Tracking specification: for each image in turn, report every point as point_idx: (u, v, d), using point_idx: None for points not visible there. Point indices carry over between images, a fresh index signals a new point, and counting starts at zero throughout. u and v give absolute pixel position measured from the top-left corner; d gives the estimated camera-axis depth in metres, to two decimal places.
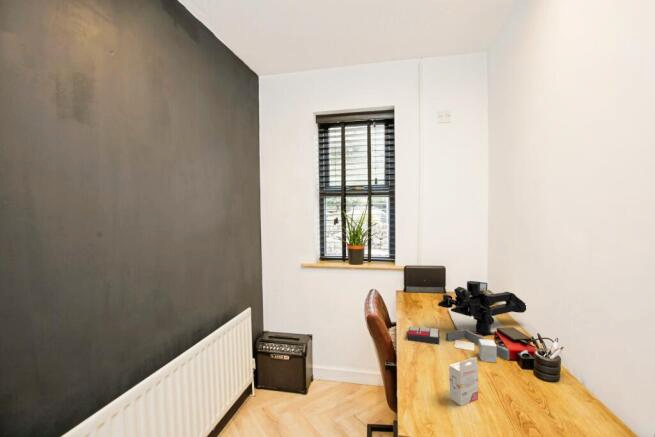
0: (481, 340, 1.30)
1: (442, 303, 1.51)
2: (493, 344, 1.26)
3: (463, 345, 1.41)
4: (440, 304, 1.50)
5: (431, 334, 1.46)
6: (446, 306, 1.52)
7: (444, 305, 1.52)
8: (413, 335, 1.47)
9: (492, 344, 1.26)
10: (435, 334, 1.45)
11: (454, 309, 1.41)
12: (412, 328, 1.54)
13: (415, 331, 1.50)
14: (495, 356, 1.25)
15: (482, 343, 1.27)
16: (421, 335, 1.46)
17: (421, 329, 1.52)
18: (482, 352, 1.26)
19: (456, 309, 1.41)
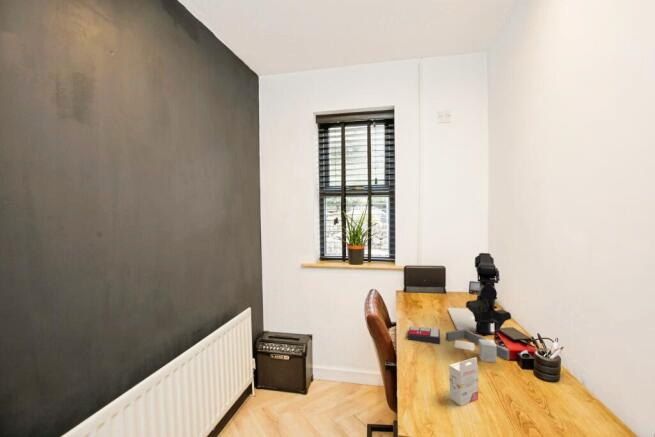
0: (481, 340, 1.30)
1: (478, 319, 1.32)
2: (493, 344, 1.26)
3: (463, 345, 1.41)
4: (478, 322, 1.32)
5: (431, 334, 1.46)
6: (481, 312, 1.33)
7: (480, 315, 1.33)
8: (414, 335, 1.47)
9: (492, 344, 1.26)
10: (435, 334, 1.46)
11: (496, 330, 1.23)
12: (413, 328, 1.54)
13: (416, 331, 1.50)
14: (495, 356, 1.25)
15: (482, 343, 1.27)
16: (421, 335, 1.46)
17: (422, 329, 1.53)
18: (482, 352, 1.26)
19: (497, 328, 1.23)
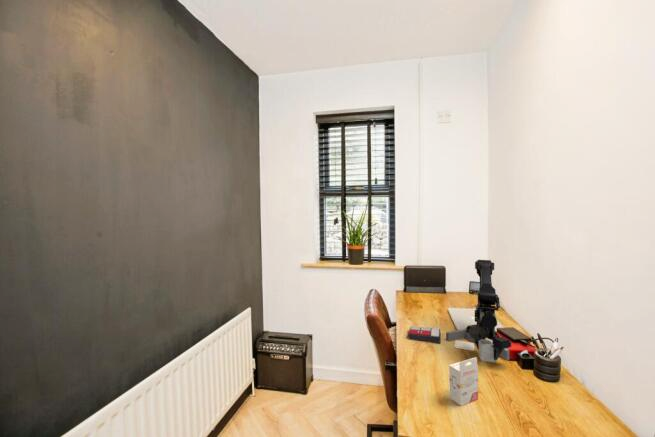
0: (481, 340, 1.30)
1: None
2: None
3: (463, 345, 1.41)
4: None
5: (432, 333, 1.46)
6: None
7: None
8: (415, 334, 1.48)
9: (492, 344, 1.26)
10: (436, 333, 1.46)
11: (496, 357, 1.24)
12: (413, 327, 1.55)
13: (416, 330, 1.51)
14: None
15: (482, 343, 1.27)
16: (422, 334, 1.46)
17: (423, 328, 1.53)
18: (482, 352, 1.26)
19: (497, 355, 1.23)
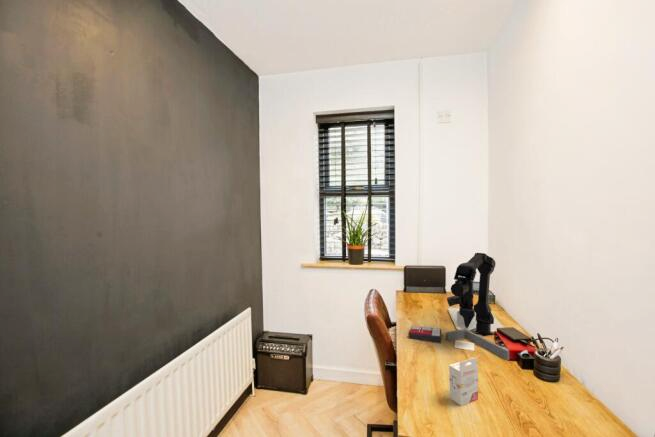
0: None
1: None
2: None
3: (463, 345, 1.41)
4: None
5: (433, 333, 1.47)
6: None
7: None
8: (415, 333, 1.48)
9: None
10: (437, 333, 1.47)
11: (466, 324, 1.35)
12: (414, 327, 1.56)
13: (417, 330, 1.52)
14: None
15: None
16: (423, 334, 1.47)
17: (424, 328, 1.54)
18: (457, 318, 1.40)
19: (466, 323, 1.35)
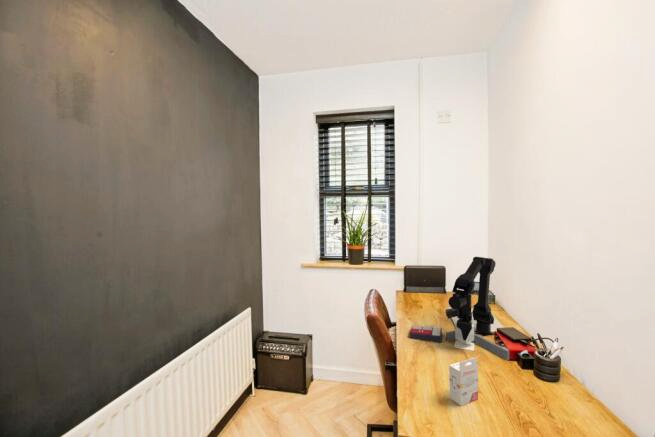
0: None
1: None
2: None
3: (463, 345, 1.41)
4: None
5: (433, 333, 1.47)
6: None
7: None
8: (416, 333, 1.49)
9: None
10: (437, 333, 1.47)
11: (463, 337, 1.36)
12: (415, 327, 1.56)
13: (418, 329, 1.52)
14: None
15: None
16: (423, 333, 1.47)
17: (424, 328, 1.54)
18: (456, 331, 1.41)
19: (464, 335, 1.36)
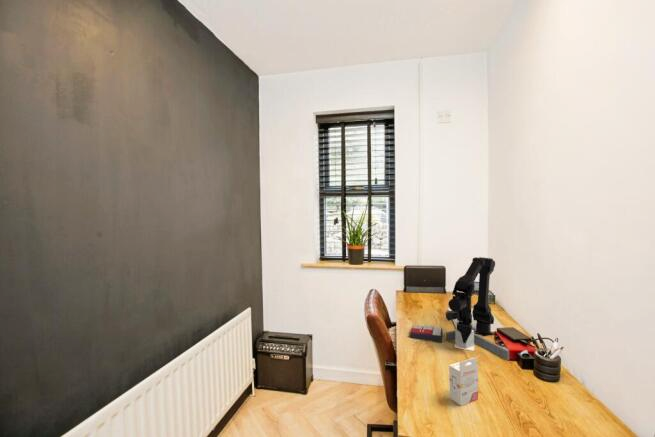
0: None
1: None
2: None
3: None
4: None
5: (434, 332, 1.48)
6: None
7: None
8: (416, 333, 1.49)
9: None
10: (438, 332, 1.47)
11: (463, 340, 1.36)
12: (415, 326, 1.56)
13: (418, 329, 1.52)
14: None
15: None
16: (424, 333, 1.48)
17: (425, 327, 1.54)
18: (456, 336, 1.42)
19: (463, 338, 1.36)
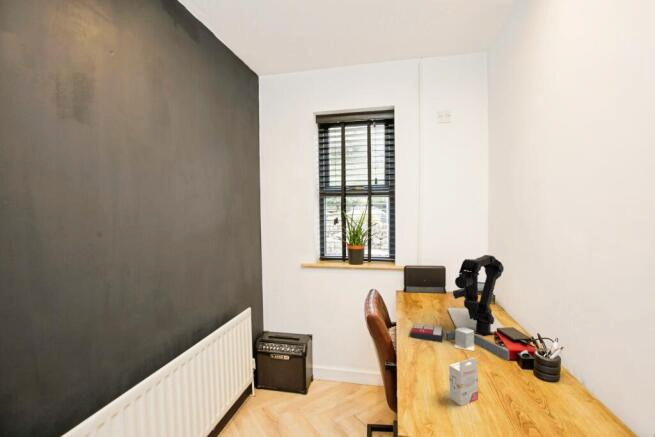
0: (462, 327, 1.43)
1: None
2: (466, 332, 1.38)
3: None
4: None
5: (434, 332, 1.48)
6: None
7: None
8: (417, 333, 1.50)
9: (464, 331, 1.38)
10: (438, 332, 1.48)
11: (470, 316, 1.42)
12: (416, 326, 1.57)
13: (419, 329, 1.53)
14: (465, 342, 1.37)
15: (458, 329, 1.42)
16: (424, 333, 1.48)
17: (425, 327, 1.55)
18: (456, 336, 1.42)
19: (470, 314, 1.42)
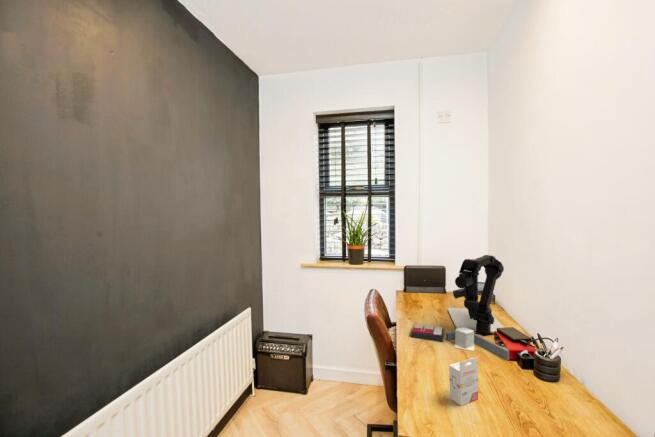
0: (462, 327, 1.43)
1: None
2: (466, 332, 1.38)
3: None
4: None
5: (435, 332, 1.48)
6: None
7: None
8: (417, 332, 1.50)
9: (464, 331, 1.38)
10: (439, 332, 1.48)
11: (470, 316, 1.42)
12: (417, 326, 1.57)
13: (419, 329, 1.53)
14: (465, 342, 1.37)
15: (458, 329, 1.42)
16: (425, 333, 1.48)
17: (426, 327, 1.55)
18: (456, 336, 1.42)
19: (470, 314, 1.42)
